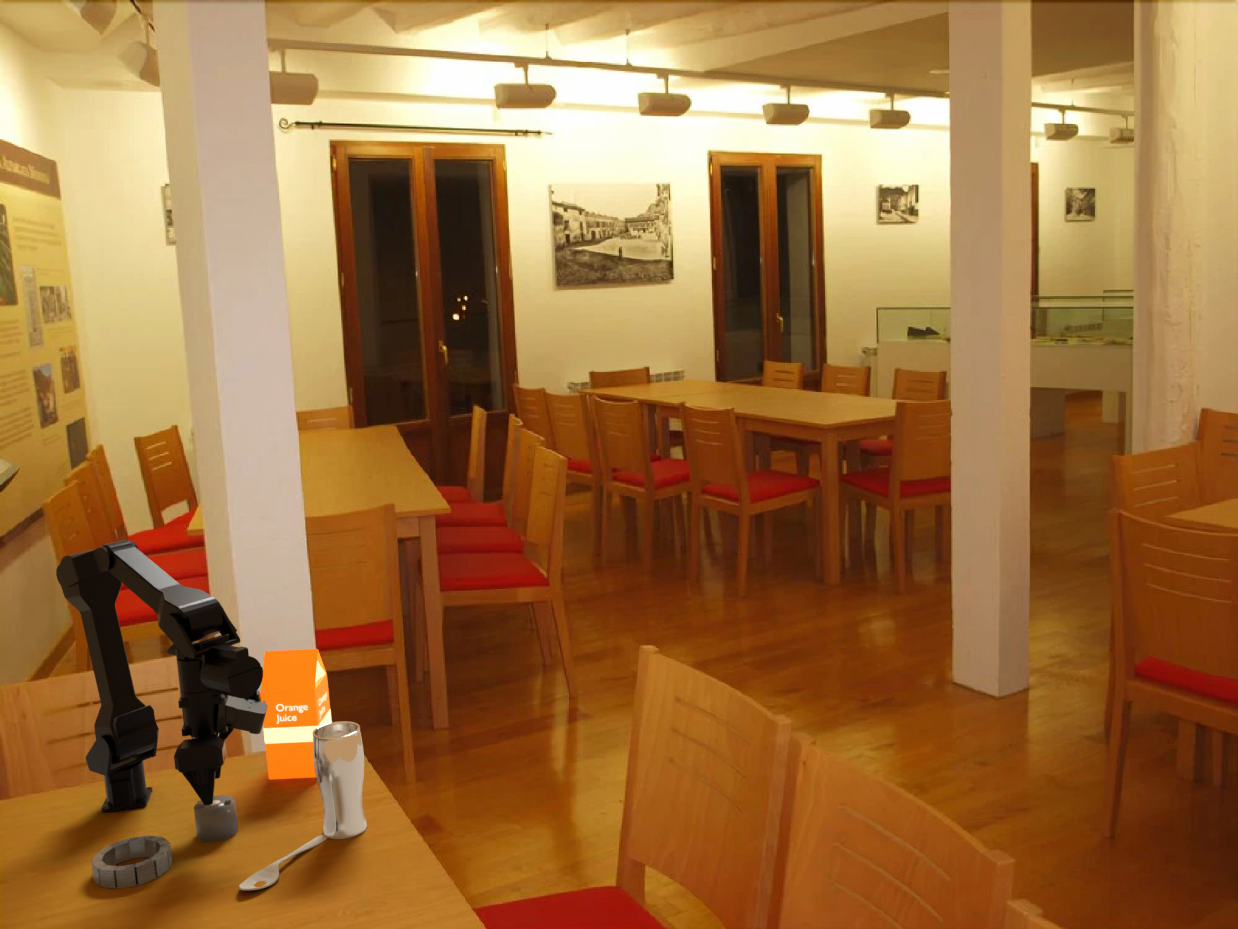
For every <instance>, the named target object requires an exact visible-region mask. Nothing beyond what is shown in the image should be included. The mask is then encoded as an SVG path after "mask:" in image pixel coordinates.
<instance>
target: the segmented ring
mask: <svg viewBox="0 0 1238 929" xmlns="http://www.w3.org/2000/svg"><path fill="white" fill-rule="evenodd" d="M139 858H148V859H145V860H144V859H143V860H141V861H139V862H136V863H133V864H126V865H118V864H120V863H123V862H126V861H130V860H133V859H139ZM172 863H173V855H172V845H171V842H170V841H169V840H167V839H166V838H165V837H163V836H155V835H142V836H135V837H129V838H125V839H122V840H120V841H119V840H118V841H117V842H114V843H110V844H109V845H107V846H105V847H104V848H102V849H100V851H98V852H96V854H94V857H93V859H92V861H91V866H92V869H91V870H92V874H93V882H95V883H96V884H97V885H98V886H99V887H101V888H108V889H115V890H116V889H124V888H125V889H126V888H132V887H136V886H141V885H143V884H146V883H149V882H151V881H153V880H156V879H157V878H159V877H161V876H162V875H164V874H165V873H167V872H168V871H169V870H170V869H171V867H172Z"/></svg>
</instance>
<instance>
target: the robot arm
mask: <svg viewBox="0 0 1238 929" xmlns="http://www.w3.org/2000/svg"><path fill="white" fill-rule="evenodd" d="M55 573H56V574H55V575H56V579H57V582H58V584H59V585H60V588H61V591H62V594H63V597H64V599H65V600H66V601H68V602H69V603H70V604H71V605H72V607H74V608H75V609H76V610H77V611H78V612H79V614H80V618H81V622H82V627H83V632H84V635H85V640H86V643H87V648H88V652H89V657H90V660H91V665H92V669H93V670H92V671H93V674H94V678H95V679H94V680H95V683H96V686H97V692H98V695H99V700H100V707H99V710H98V713H97V716H96V719H95V723H94V725H93V728H94V735H95V741H94V743H93V745H92V746H91V748H90V749H89V751H88V752H87V755H86V756H85V761H86V763H87V767H88V770H89V772H93V773H96V774H99V775H102V776H103V778H104V779H103V780H104V787H105V788H104V789H105V797H106V798H105V800H104V802H103V803H102V806H100V807H101V808H100V812H101V813H107V812H114V811H121V810H129V809H136V808H143V807H146V806H147V805H148V803H149V800H150V798H151V795H152V793H153V790H154V789H153V786H147V782H146V775H145V766H144V761H146V760H148V759H150V758H154V757H156V756H157V749H158V748H157V747H158V742H159V741H158V740H159V730H160V728H159V727H158V725H157V720H156V717H155V710H154V708H153V707H152V705H150V704H148V705H146V704H145V703H144V702H142V701H141V700H140V699H139V698H138V697H137V695H136V691H135V686H134V682H133V677H132V674H131V669H130V664H129V661H128V656H127V652H126V648H125V647H126V646H125V642H124V637H123V633H122V630H121V625H120V620H119V616H118V612H117V611H118V610H117V608H116V602H117V600H118V597H119V594H120V591H121V588H122V586H123V585H124V586H125V587H126V588H127V589H129V590H130V591H131V592H132V593H133V594H135V595H136V596H137V597H138V598H139V599H141V601H142V602H143V603H145V604H146V605H147V606H148V607H149V608H151V609H152V610H153V611H154V612H155V614H156V615H157V625H158V627H159V629H160V630H161V631H162V632H163V633H164V634H165V636H166V637H167V638H168V639H169V640H170V641H171V643H173V644H171V645H170V646H169V647H168V649H167V650H166V652H167V654H168V655H172V656H175V658H176V665H177V666H176V667H177V676H178V683H179V695H180V696H179V699H178V708H179V709H181V713H182V721H183V724H182V727H181V736H182V737H190V738H189V739H188V738H187V739H183V740H182V741H181V743H180V744H179V745H178V746H177V747H176V750H175V752H174V756H173V759H174V769H175V770H177V771H178V772H179V773H181V774H182V776H183V777H184V778H185V779H186V781H187V782H188V783H189V784H190V786H191V788H192V789H193V791H194V792H195V793H196V795H197V796H198V798H199V799H200V801H202V802H203V804H204V805H211V804H213V797H214V796H215V784H216V779H220V777H221V774H222V767H223V766H224V764H225V762H226V739H227V738H228V737H229V736H230V735H231V733H233V731H234V729H235V730H241V731H245V732H249V733H250V734H252V735H260V734H261V733H262V730H263V723H264V719H265V716H266V712H267V707H268V705H267V704H266V701H263V702H262V701H261V696H260V692H261V691H260V690H259V689H260V687H261V684H262V679H263V666H262V665H261V663H260V661H259V660H258V659H256V658H255V657H253V656H250V655H249V648H248V647H247V646H235V645H237V644H240V643H241V638H240V636H239V635H238V633H237V631H238V629H237V627H236V626H235V625H234V624H233V622H232V621H231V620H230V618H229V616H228V615H227V613H226V611H225V609H224V607H223V605H221V603H220V602H219V599H217V598H216V597H214V596H213V595H211V594H209V593H207V592H206V591H204V590H201V589H200V588H193V587H189V586H184V585H183V584H180V583H179V582H178V581H177V580H175V579H174V578H173V577H172V576H171V575H169V574H168V573H167V572H166V571H164V569H162V568H161V567H160V566H159V565H158V564H156V562H154V561H152V560H151V559H150V558H149V557H147V555H145V554H144V553H143V552H142V551H140V549H139V547H138V545H137V543H136V542H135V541H133V540H128V539H123V540H118V541H114V542H109V543H105V544H102V545H101V546H100V547H97V548H94V549H89V550H85V551H81V552H76V553H72V554H67V555H64V556H62V558H61V560H60V562H59V564H58V565H57V566H56V571H55ZM218 634H220V635H218ZM215 635H218V636H215ZM212 636H214V637H212ZM210 637H211V638H210ZM205 638H207V639H205ZM203 639H205V640H203ZM200 640H202V641H200Z"/></svg>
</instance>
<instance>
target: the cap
mask: <svg viewBox="0 0 1238 929" xmlns="http://www.w3.org/2000/svg"><path fill="white" fill-rule="evenodd" d="M193 811H194V812H193V813H194V819H195V822H194V823H195V829H196V839H197V841H200V842H202V843H217V842H221V841H225V840H228V839H230V838H232V837H234V836H235V835H236V834H237V833H238V831H239V826H238V825H239V824H238V816H237V806H236V799H235V797H233V796H231V795H214V797H213V804H211V805H204V804H203V802H202V801H201V800H198V801H197V803H196V804H194V805H193Z"/></svg>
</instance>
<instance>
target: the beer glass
mask: <svg viewBox="0 0 1238 929" xmlns="http://www.w3.org/2000/svg"><path fill="white" fill-rule="evenodd" d="M312 734H313V762H314V770H315V775H316V777H315V778H316V782H317V786H318V791H319V792H320V793H319V794H320V796H321V800H322V804H323V809H324V811H323V812H324V818H323V825H322V826H323V828H322V829H323V830H322V833H323V834H324V835H325V836H326V837H327V839H332V840H345V839H350V838H355V837H357V836H359V835H360V834H362V833H363V832H365V831H366V830H367V826H368V823H367V820H366V817H365V816H366V815H365V812H364V809H363V788H364V786H363V785H364V777H365V775H364V774H365V754H364V745H363V739H362V733H361V726H360V724H358V723H357V722H354V721H347V720H344V721H342V720H341V721H332V723H327V724H324V725H321V726H319V727H317V728H316V729H315V730H314V731H313V733H312Z"/></svg>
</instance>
